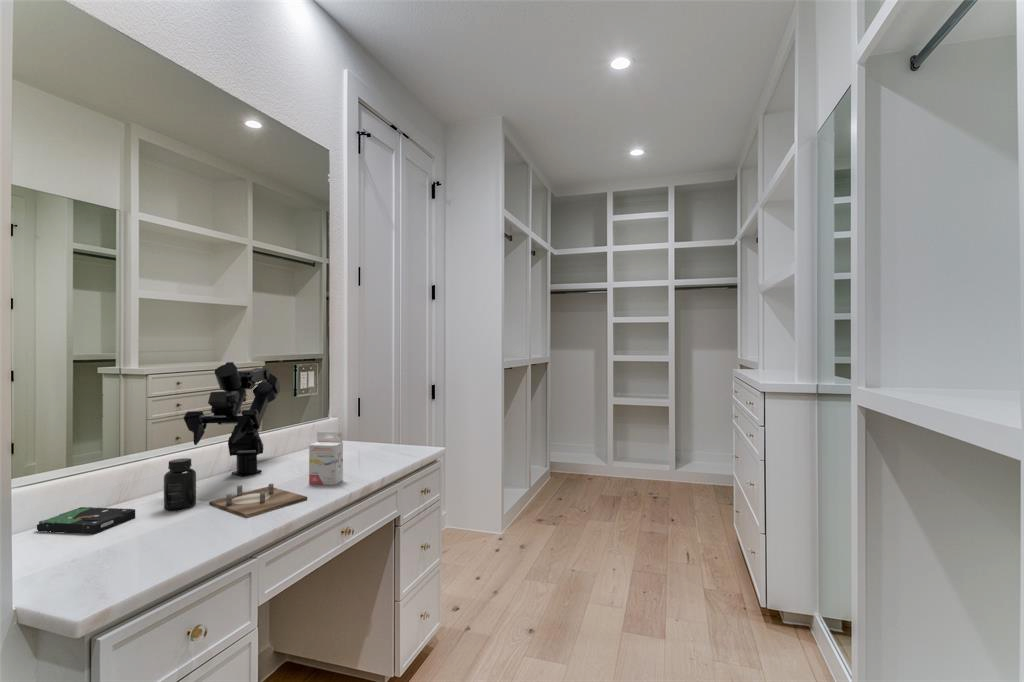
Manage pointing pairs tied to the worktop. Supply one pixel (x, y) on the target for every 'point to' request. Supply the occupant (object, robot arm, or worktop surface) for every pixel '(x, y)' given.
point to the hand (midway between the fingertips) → (213, 443)
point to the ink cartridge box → (326, 459)
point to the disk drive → (87, 520)
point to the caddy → (257, 501)
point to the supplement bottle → (179, 485)
